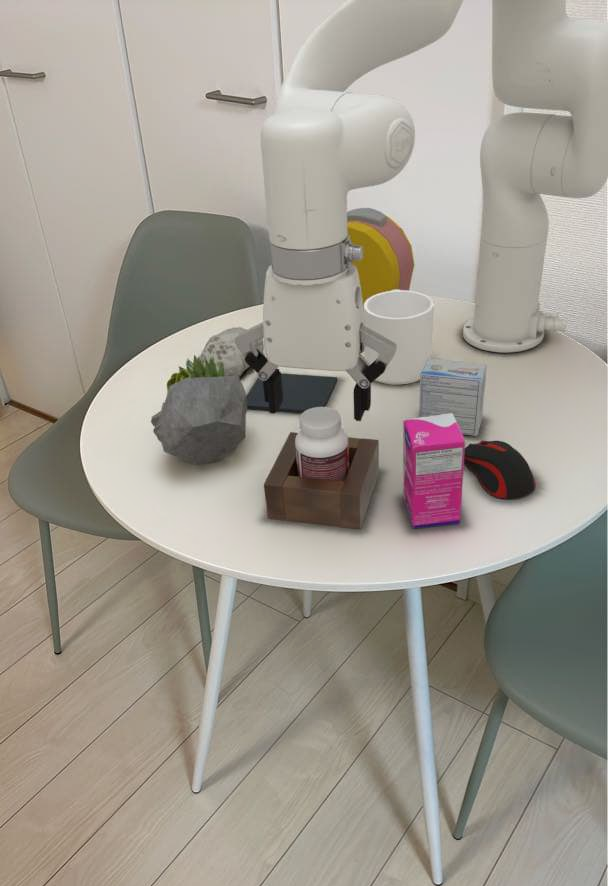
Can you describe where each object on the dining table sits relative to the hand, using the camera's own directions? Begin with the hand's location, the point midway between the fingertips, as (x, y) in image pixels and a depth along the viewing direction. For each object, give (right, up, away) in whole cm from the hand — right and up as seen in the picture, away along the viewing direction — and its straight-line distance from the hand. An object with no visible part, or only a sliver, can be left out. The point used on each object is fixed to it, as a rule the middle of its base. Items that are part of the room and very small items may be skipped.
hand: (317, 411), depth 84 cm
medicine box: (+18, +1, +18) cm, 26 cm away
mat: (-4, +7, +27) cm, 28 cm away
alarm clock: (+8, +22, +43) cm, 49 cm away
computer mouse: (+22, -6, +9) cm, 25 cm away
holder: (+1, -9, +8) cm, 12 cm away
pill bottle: (+1, -9, +8) cm, 12 cm away
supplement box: (+13, -11, +4) cm, 18 cm away
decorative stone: (-13, +13, +35) cm, 40 cm away
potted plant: (-15, -2, +18) cm, 24 cm away
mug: (+13, +12, +32) cm, 37 cm away
